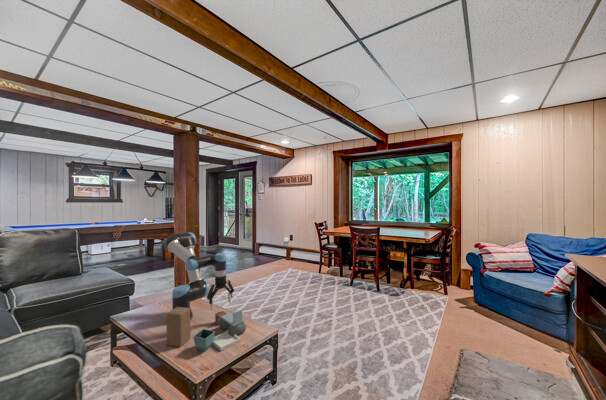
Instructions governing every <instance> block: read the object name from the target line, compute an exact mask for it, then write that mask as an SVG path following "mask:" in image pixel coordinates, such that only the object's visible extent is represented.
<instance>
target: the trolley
mask: <svg viewBox="0 0 606 400" xmlns="http://www.w3.org/2000/svg"><path fill="white" fill-rule="evenodd" d="M218 326H219V328H220V330H221V331H224V330H227V331H228V333H229V334H230V335H231V336H232V337H233V336H234V335H237V336H238V335H240V334H242V333H244V332H246V329H247V328H246V324H245V320H244V319H243V309H238V310H236V311H233V312H228V313H227V314H225V315H223V316H221V319H220V320H219V325H218Z"/></svg>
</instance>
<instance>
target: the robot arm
mask: <svg viewBox="0 0 606 400" xmlns="http://www.w3.org/2000/svg"><path fill="white" fill-rule="evenodd" d="M195 245H197V236H196V235H195V233H193V232H191V231H190V232H189V231H188V232H186V231H185V232H180V233H172V234H170V235H168V236H167V237H166V239H165V241H164V247H165V249H166V250H167V251H168V252H170V253H173V254H174V255H175V256H177V258H179V259H180V260H181V261H183V262H184V263H185V264H184V265H185V268H186V272H187V276H188V279H189V280H188V281H189V282H188V283H187V284H180V285H178V286H176V287H174V289H173V290H172V295H171V297H172V310H173V309H174V308H176V307H185V308H190V320H192V318H193V317H194V315H193V310H192V308H191V302H194V301H196V300H199V299H202V298H205V297H206V299H207V300H209V302H208V303H209V304H210V309H212V310H213V309H214V297H215V296H216V293H217V292H218V291H219V290H222V289H226V291H227V302H228V303H229V304H230V303H232V298H233V292H235V288H234V287H233V286H232V285H233V284H231V280H230V279H227V256H226V253H225V252H224V253H223V252H218V253H215V254H211V253H208V254H206V255H204V256H201V257H198V256H197V255H196V253H195V250H194V249H195V247H196V246H195ZM210 266H211V267H212V266H213V267H214V282H215V283H214V284H212V283H211V284H210V285H209V282H208V281H206V280H205V279H204V278H203V277H202V275H201V272H200V269H203V268H207V267H210ZM227 285H228V286H227Z"/></svg>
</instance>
